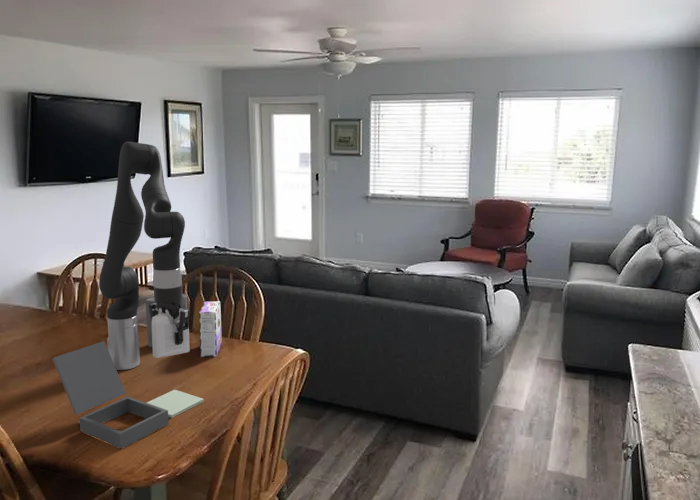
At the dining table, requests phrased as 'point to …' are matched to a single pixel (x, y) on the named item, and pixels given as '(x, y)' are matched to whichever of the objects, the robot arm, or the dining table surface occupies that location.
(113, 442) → the case
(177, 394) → the mat
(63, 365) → the case lid
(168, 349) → the white slotted device
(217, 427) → the dining table surface
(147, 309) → the flask
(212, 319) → the candy box
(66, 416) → the dining table surface
